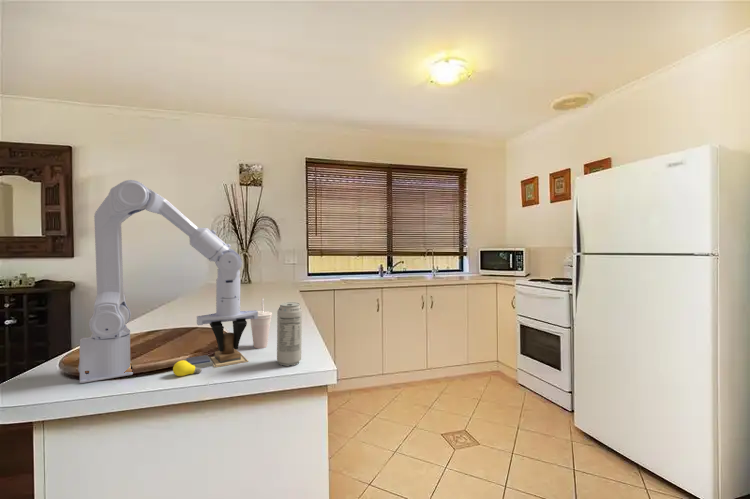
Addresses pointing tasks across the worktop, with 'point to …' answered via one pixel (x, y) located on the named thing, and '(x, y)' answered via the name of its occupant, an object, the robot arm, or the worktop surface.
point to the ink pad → (200, 361)
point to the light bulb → (185, 368)
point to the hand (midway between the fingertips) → (228, 349)
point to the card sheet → (218, 364)
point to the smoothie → (261, 328)
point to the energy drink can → (289, 333)
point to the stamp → (228, 350)
